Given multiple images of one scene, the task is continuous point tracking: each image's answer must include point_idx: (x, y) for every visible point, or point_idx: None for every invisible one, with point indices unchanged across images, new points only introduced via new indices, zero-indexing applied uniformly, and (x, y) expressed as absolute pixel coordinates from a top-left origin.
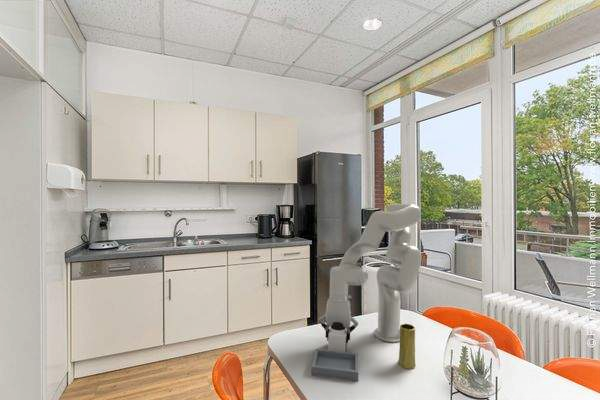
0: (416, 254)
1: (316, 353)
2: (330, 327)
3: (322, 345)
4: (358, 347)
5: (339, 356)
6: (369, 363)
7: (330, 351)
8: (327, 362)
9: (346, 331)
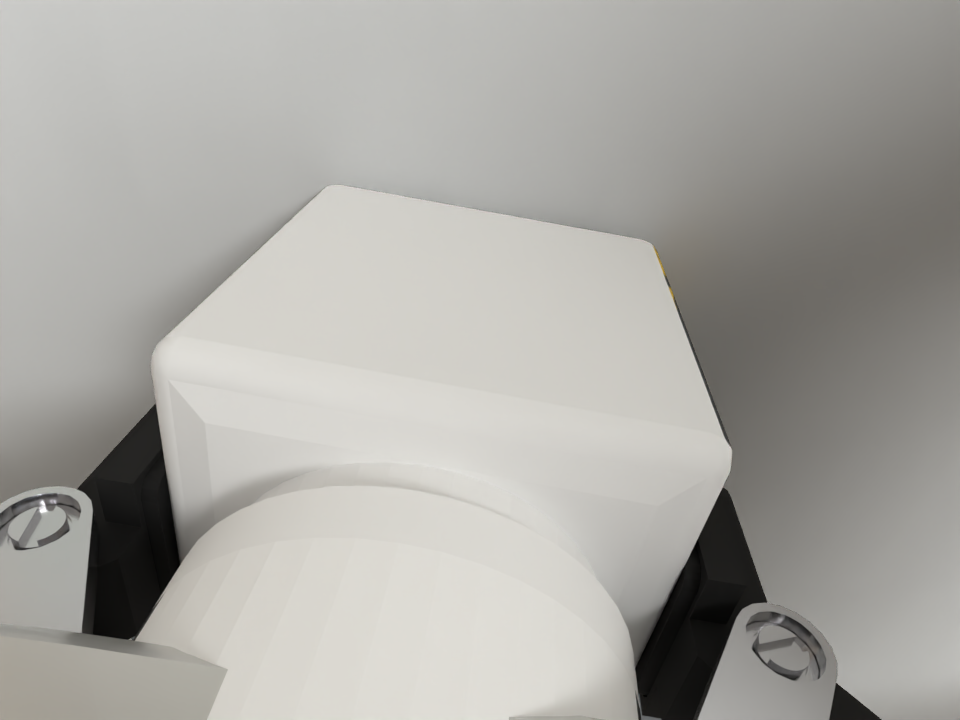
0: None
1: None
2: (165, 412)
3: (205, 270)
4: (869, 309)
5: None
6: (831, 643)
7: None
8: None
9: (663, 603)
